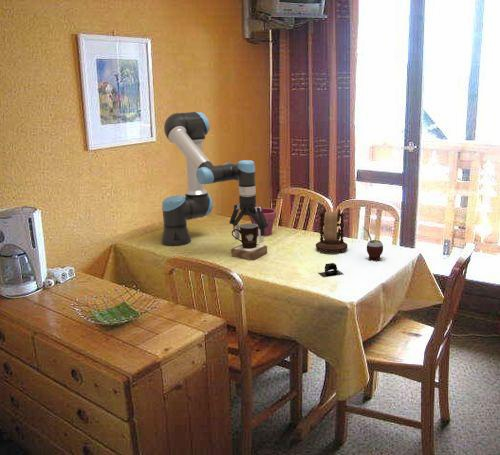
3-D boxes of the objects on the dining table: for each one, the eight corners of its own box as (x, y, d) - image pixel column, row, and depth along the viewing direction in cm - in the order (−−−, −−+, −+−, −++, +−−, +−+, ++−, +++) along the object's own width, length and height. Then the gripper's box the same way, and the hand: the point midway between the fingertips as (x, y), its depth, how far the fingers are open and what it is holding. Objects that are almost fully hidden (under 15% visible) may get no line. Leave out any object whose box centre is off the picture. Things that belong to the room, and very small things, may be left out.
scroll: (312, 253, 235) (312, 211, 230) (319, 244, 248) (319, 204, 243) (344, 255, 230) (345, 212, 225) (349, 246, 243) (350, 205, 238)
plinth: (231, 256, 234) (231, 248, 233) (246, 249, 244) (245, 241, 243) (253, 260, 227) (253, 252, 226) (267, 253, 237) (267, 245, 236)
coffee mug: (261, 244, 237) (260, 224, 235) (255, 250, 229) (254, 228, 227) (238, 243, 241) (237, 222, 239) (231, 248, 233) (230, 227, 231)
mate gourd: (386, 259, 223) (387, 226, 219) (372, 263, 219) (373, 229, 215) (374, 255, 229) (375, 223, 225) (360, 258, 225) (361, 226, 222)
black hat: (320, 279, 203) (320, 268, 202) (313, 273, 210) (313, 263, 209) (348, 275, 207) (348, 265, 206) (340, 270, 213) (340, 259, 212)
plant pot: (280, 232, 272) (280, 209, 269) (268, 238, 261) (267, 214, 258) (257, 229, 280) (257, 206, 276) (244, 235, 268) (243, 212, 265)
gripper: (220, 194, 232) (222, 239, 237) (266, 198, 219) (267, 246, 224) (230, 191, 238) (232, 235, 243) (275, 195, 225) (276, 242, 230)
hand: (249, 240), depth 234 cm, fingers open, 12 cm apart
